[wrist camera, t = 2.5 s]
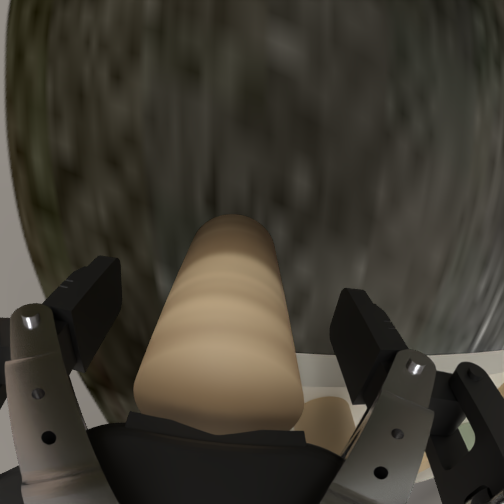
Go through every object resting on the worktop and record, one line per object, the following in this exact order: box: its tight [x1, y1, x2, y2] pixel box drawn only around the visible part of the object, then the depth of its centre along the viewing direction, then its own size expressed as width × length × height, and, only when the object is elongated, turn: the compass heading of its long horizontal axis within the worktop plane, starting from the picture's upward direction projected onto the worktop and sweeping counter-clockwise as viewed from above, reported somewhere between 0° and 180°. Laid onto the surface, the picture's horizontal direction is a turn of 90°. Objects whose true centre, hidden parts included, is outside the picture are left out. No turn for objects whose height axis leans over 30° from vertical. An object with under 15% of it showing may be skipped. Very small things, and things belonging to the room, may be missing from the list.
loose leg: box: [133, 214, 304, 435], centre depth 9 cm, size 4×4×8 cm
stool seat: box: [290, 350, 504, 483], centre depth 15 cm, size 16×21×9 cm
